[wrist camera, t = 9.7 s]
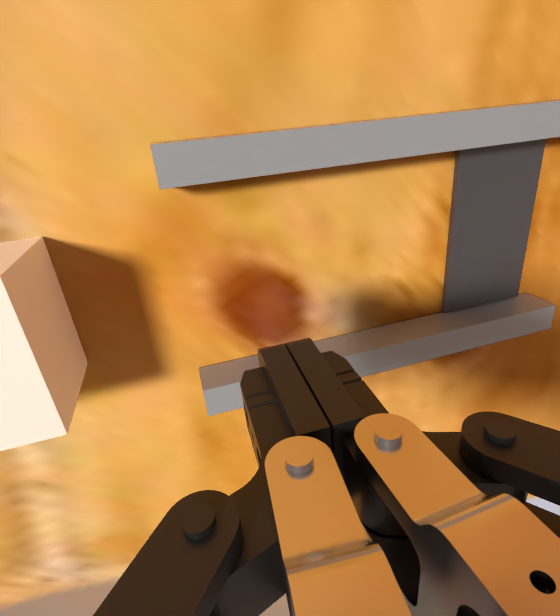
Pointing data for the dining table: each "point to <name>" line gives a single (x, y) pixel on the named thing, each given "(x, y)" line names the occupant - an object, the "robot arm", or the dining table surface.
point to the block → (35, 348)
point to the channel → (462, 228)
